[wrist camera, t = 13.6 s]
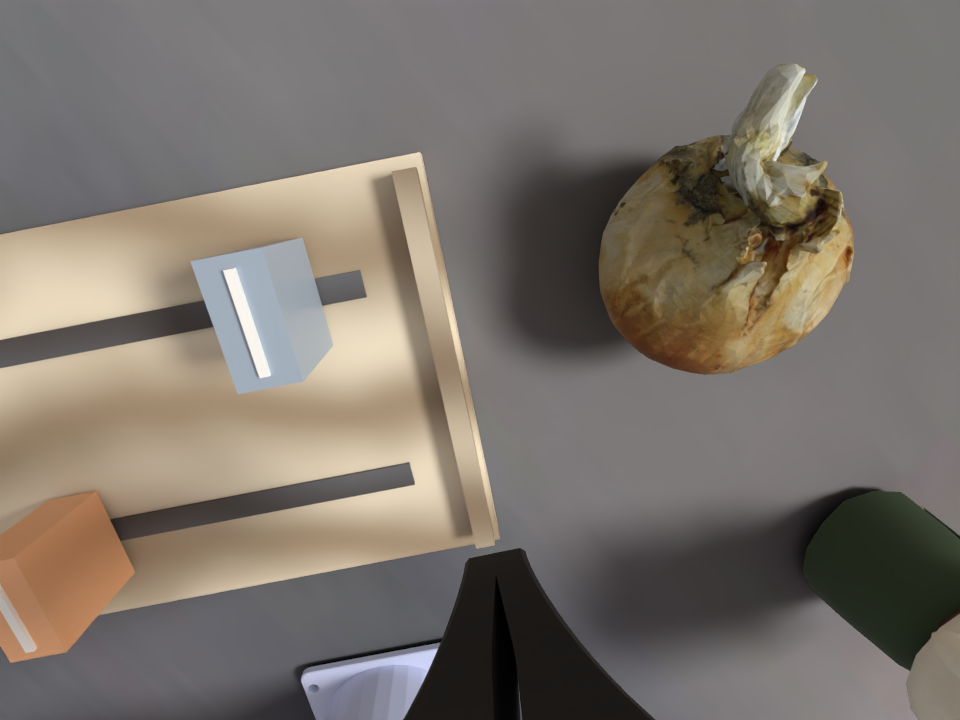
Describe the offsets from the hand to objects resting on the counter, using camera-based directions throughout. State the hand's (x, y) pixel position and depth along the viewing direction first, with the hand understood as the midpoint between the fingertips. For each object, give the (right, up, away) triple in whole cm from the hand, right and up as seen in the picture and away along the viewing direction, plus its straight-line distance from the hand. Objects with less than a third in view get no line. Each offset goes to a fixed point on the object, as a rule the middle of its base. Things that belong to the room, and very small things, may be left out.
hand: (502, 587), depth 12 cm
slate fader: (-7, +8, +6) cm, 12 cm away
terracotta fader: (-16, -2, +9) cm, 19 cm away
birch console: (-12, +3, +9) cm, 15 cm away
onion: (+7, +10, +8) cm, 15 cm away
